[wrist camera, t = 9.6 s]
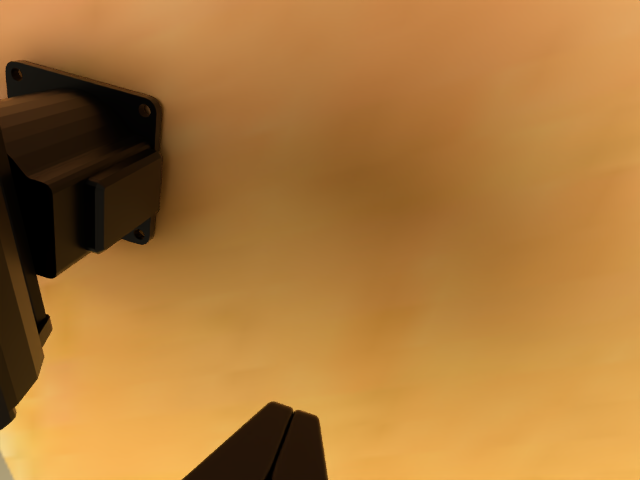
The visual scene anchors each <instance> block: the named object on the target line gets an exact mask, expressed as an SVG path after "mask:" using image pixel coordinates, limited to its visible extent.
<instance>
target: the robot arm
mask: <svg viewBox="0 0 640 480" xmlns="http://www.w3.org/2000/svg"><path fill="white" fill-rule="evenodd" d="M19 70H20V71H21V73H22V76H23V77H22V78H21V76H20V75H19ZM5 72H6V83H7V95H8V98H7V99H2V100H0V430H2V429H3V428H4V427H6V426H7V425H8V424H9V423H10V422H12V420H13V419H14V418H15V417H16V409H15V406H16V405H17V404H18V403H19V402H20V401H21V400H22V398H23V397H24V396H25V394H26V393H27V392H28V390H29V389H30V388H31V387H32V385H33V384H34V383H35V381H36V380H37V379H38V376H39V373H40V369H41V366H42V363H43V359H44V354H43V350H42V347H43V345H44V344H45V342H46V340H47V338H48V337H49V335H50V333H51V331H52V324H51V320H50V316H49V315H48V314H45V309H44V305H43V301H42V297H41V293H40V289H39V284H38V280H37V276H36V275H40V276H43V277H46V278H52V279H53V278H55V277H56V276H57V275H59V274H60V273H62V272H63V271H65V270H66V269H67V268H69V267H70V266H72V265H73V264H75V263H76V262H77V261H79V260H80V259H82V258H83V257H84V256H86V255H87V254H89V253H90V252H93V253H96V254H100V253H102V252H103V251H105V250H106V249H108V248H109V247H110V246H112V245H113V244H115V243H116V242H117V241H119V240H120V239H124V240H127V241H130V242H133V243H137V244H141V245H143V244H146V243H148V242H149V241H150V240H151V239H152V238H153V237H154V231H155V215H156V213H157V212H158V211H159V208H160V193H161V178H162V162H163V158H162V156H161V154H160V152H159V150H160V133H161V117H162V110H161V106H160V104H159V102H158V101H157V100H156V99H155V98H153V97H151V96H148V95H145V94H141V93H138V92H134V91H131V90H127V89H123V88H120V87H116V86H113V85H109V84H105V83H102V82H98V81H95V80H91V79H88V78H84V77H80V76H77V75H73V74H70V73H66V72H62V71H59V70H55V69H52V68H48V67H45V66H41V65H37V64H34V63H30V62H27V61H22V60H18V61H11V62H9V63H8V64H7V66H6V71H5ZM145 104H146V105H147V106H148V107H149V108H150V111H151V114H150V115H148V114H147V113H146V112H145V110H144V105H145ZM139 229H140V230H142V231H143V233H144V236H143V235H142V234H141V233H140V232H139ZM182 480H328V476H327V469H326V462H325V455H324V449H323V442H322V435H321V428H320V422H319V419H318V417H317V416H315V415H313V414H310V413H307V412H304V411H301V410H296V411H295V412H294V413H293V409H292V408H291V407H289V406H286V405H283V404H280V403H277V402H270V403H268V404H267V405H266V406H264V407H263V408H262V409H261V410H260V411H259V412H258V413H257V414H255V415H254V416H253V417H252V418H251V419H250V420H249V421H247V422H246V423H245V424H244V425H243V426H242V427H241V428H240V429H238V430H237V431H236V432H235V433H234V434H233V435H232V436H231V437H229V438H228V439H227V440H226V441H225V442H224V443H223V444H222V445H220V446H219V447H218V448H217V449H216V450H215V451H214V452H213V453H211V454H210V455H209V456H208V457H207V458H206V459H205V460H204V461H202V462H201V463H200V464H199V465H198V466H197V467H196V468H194V469H193V470H192V471H191V472H190V473H189V474H188V475H187V476H185V477H184V478H183V479H182Z"/></svg>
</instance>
